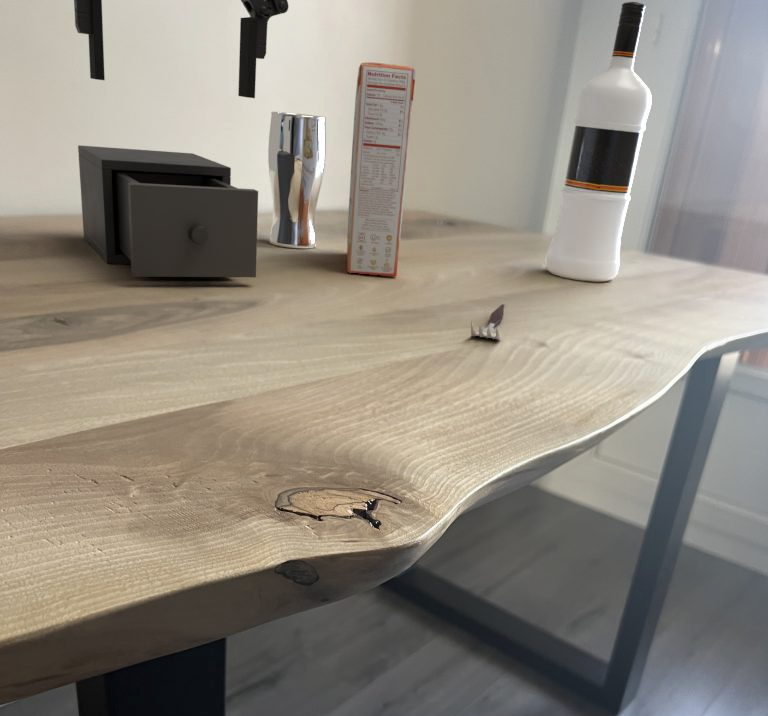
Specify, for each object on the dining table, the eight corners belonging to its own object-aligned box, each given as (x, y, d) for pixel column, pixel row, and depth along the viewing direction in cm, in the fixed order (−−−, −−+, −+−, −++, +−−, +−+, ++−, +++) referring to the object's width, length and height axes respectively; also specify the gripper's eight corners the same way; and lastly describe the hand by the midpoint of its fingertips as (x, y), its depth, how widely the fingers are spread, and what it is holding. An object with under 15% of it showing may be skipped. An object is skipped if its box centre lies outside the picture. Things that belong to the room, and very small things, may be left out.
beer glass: (315, 241, 108) (323, 116, 101) (323, 250, 102) (332, 118, 95) (263, 237, 106) (266, 110, 100) (267, 247, 100) (272, 112, 94)
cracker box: (343, 252, 103) (357, 63, 93) (391, 256, 103) (409, 69, 94) (343, 274, 90) (358, 58, 81) (397, 278, 91) (419, 65, 81)
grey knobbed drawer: (260, 280, 78) (262, 192, 75) (136, 279, 73) (133, 186, 70) (216, 250, 90) (216, 173, 86) (107, 248, 85) (102, 166, 81)
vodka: (534, 273, 103) (583, -7, 89) (554, 264, 110) (603, 6, 97) (606, 286, 99) (669, -2, 86) (622, 276, 107) (682, 10, 93)
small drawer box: (229, 265, 88) (230, 167, 84) (106, 263, 83) (101, 159, 78) (193, 240, 100) (193, 153, 95) (83, 237, 94) (77, 145, 90)
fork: (515, 312, 81) (519, 291, 81) (496, 350, 67) (500, 326, 67) (490, 308, 82) (493, 287, 81) (465, 345, 68) (468, 321, 67)
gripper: (7, -273, 57) (32, 72, 66) (335, -178, 68) (316, 106, 77) (-1, -243, 63) (23, 70, 72) (302, -160, 74) (288, 101, 83)
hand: (175, 89), depth 75 cm, fingers open, 13 cm apart
